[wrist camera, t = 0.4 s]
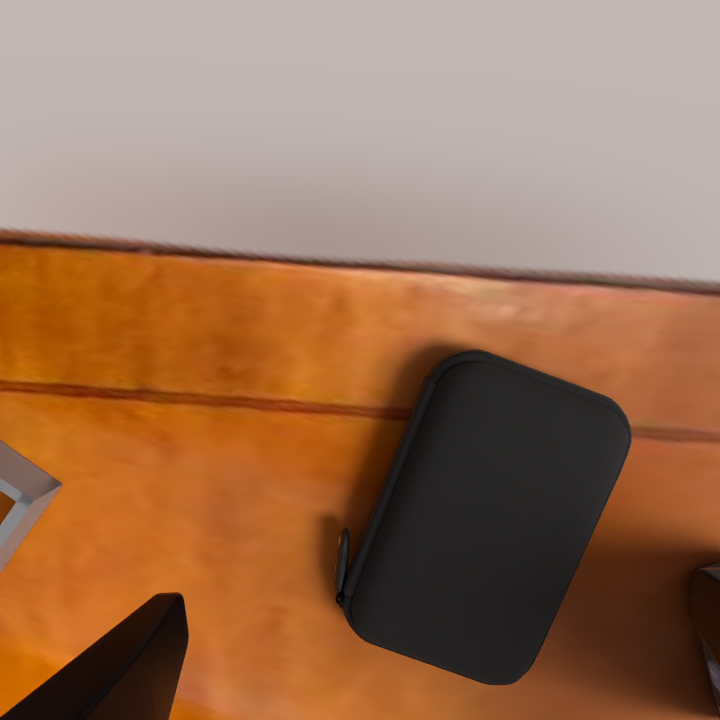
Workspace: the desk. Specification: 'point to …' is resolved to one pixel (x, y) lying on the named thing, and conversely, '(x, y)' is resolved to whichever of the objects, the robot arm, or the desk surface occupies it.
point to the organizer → (21, 498)
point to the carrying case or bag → (482, 516)
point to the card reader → (712, 660)
